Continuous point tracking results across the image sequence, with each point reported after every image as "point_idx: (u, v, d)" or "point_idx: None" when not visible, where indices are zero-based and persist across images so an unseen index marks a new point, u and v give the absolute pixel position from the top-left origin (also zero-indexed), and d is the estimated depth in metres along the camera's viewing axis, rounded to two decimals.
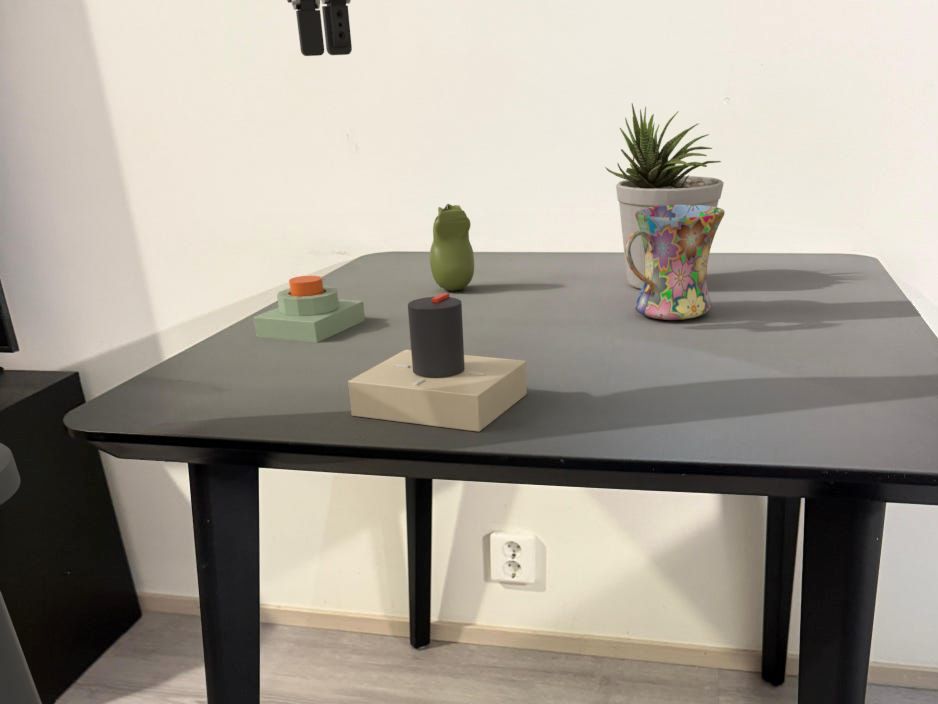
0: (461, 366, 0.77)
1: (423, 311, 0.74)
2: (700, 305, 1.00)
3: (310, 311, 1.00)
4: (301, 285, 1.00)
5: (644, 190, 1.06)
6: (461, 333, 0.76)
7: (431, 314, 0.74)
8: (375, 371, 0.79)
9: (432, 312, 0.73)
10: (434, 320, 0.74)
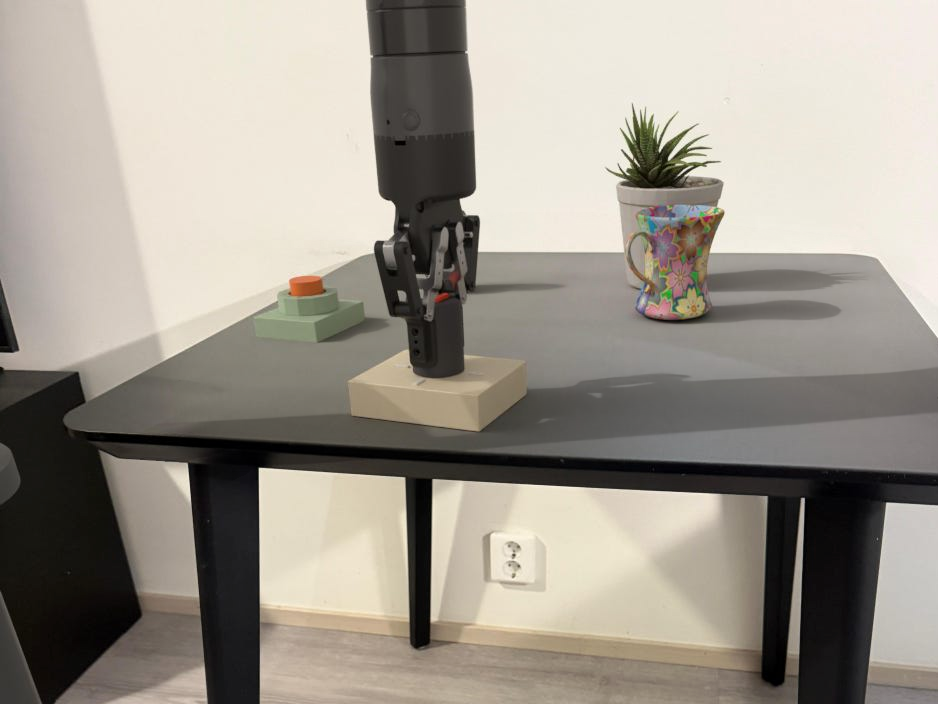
0: (461, 366, 0.77)
1: None
2: (700, 305, 1.00)
3: (310, 311, 1.00)
4: (301, 285, 1.00)
5: (644, 190, 1.06)
6: (461, 333, 0.76)
7: None
8: (375, 371, 0.79)
9: None
10: (435, 320, 0.74)
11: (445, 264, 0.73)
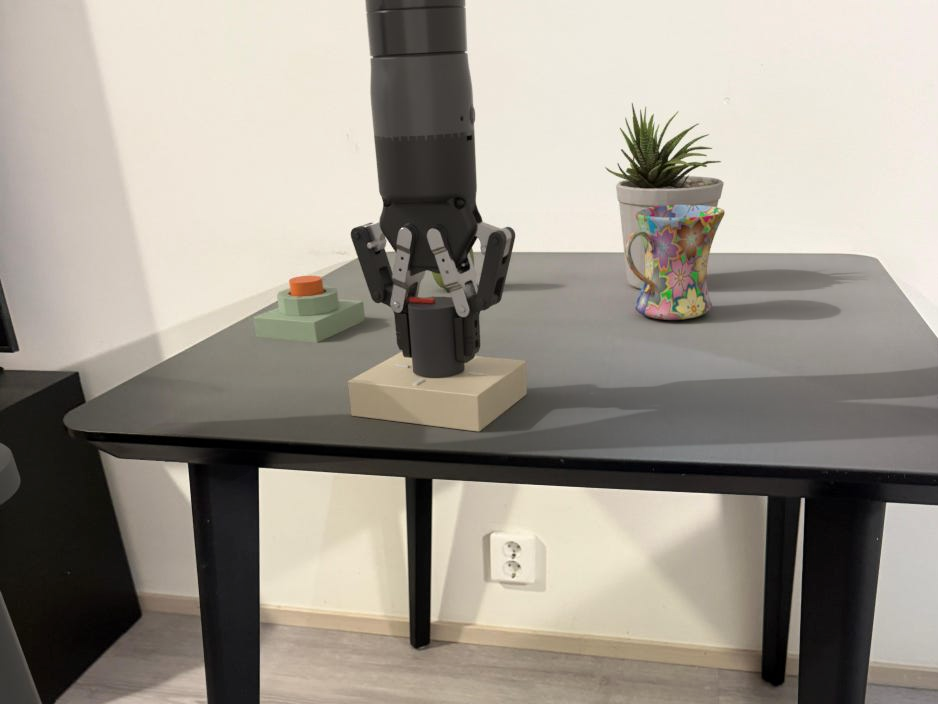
0: None
1: None
2: (700, 305, 1.00)
3: (310, 311, 1.00)
4: (301, 285, 1.00)
5: (644, 190, 1.06)
6: None
7: None
8: (375, 371, 0.79)
9: None
10: None
11: None
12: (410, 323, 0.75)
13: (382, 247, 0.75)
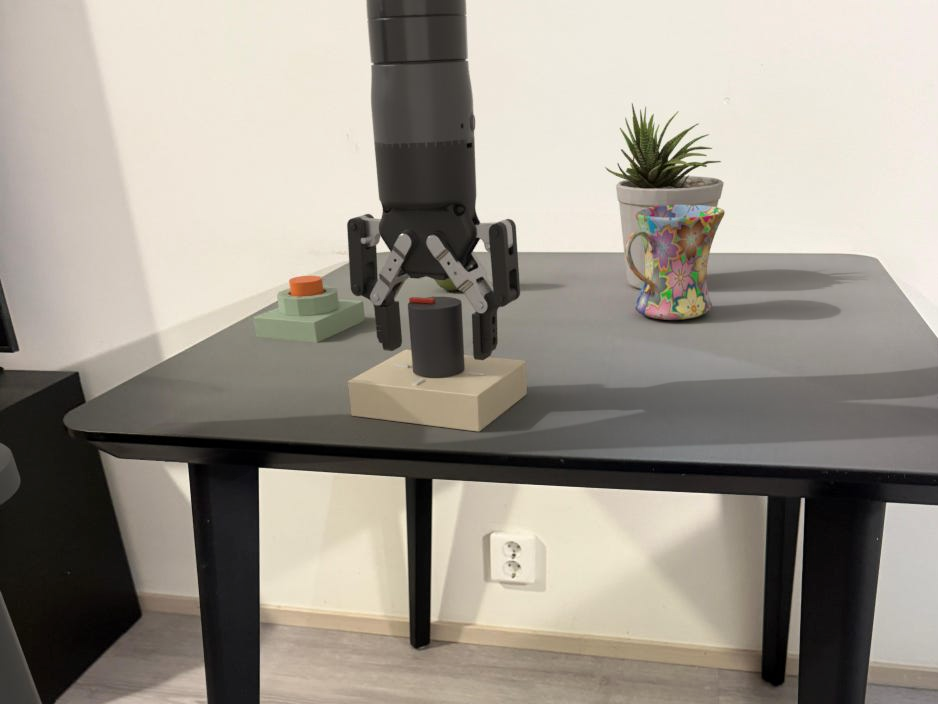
0: None
1: (459, 305, 0.75)
2: (700, 305, 1.00)
3: (310, 311, 1.00)
4: (301, 285, 1.00)
5: (644, 190, 1.06)
6: None
7: (461, 307, 0.75)
8: (375, 371, 0.79)
9: (461, 304, 0.75)
10: None
11: None
12: (410, 323, 0.75)
13: (374, 244, 0.75)
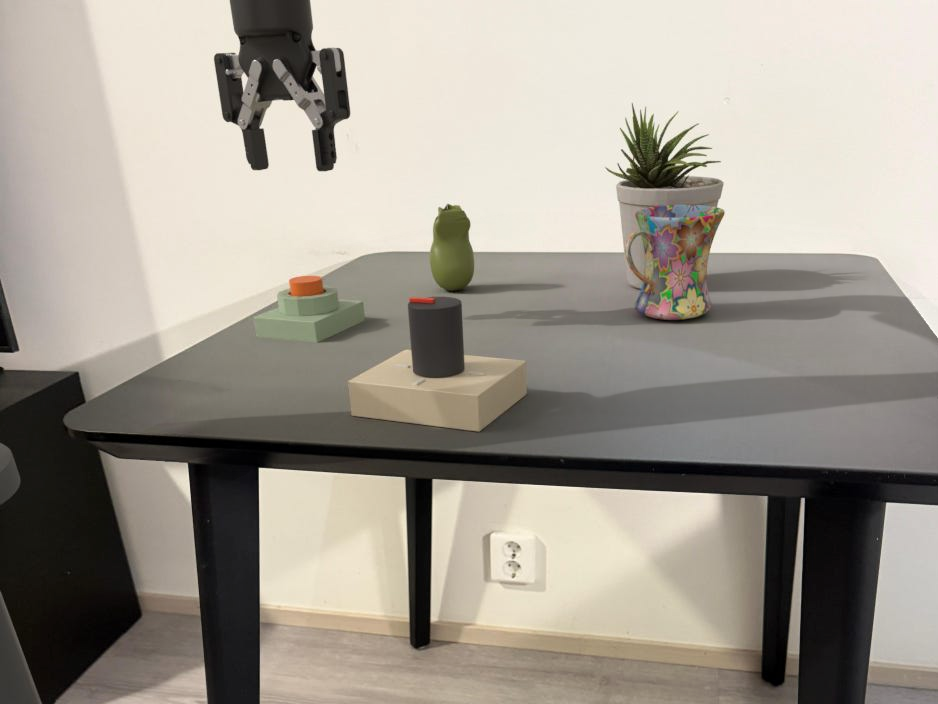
0: None
1: (459, 305, 0.75)
2: (700, 305, 1.00)
3: (310, 311, 1.00)
4: (301, 285, 1.00)
5: (644, 190, 1.06)
6: None
7: (461, 307, 0.75)
8: (375, 371, 0.79)
9: (461, 304, 0.75)
10: None
11: None
12: (410, 323, 0.75)
13: (238, 76, 0.92)
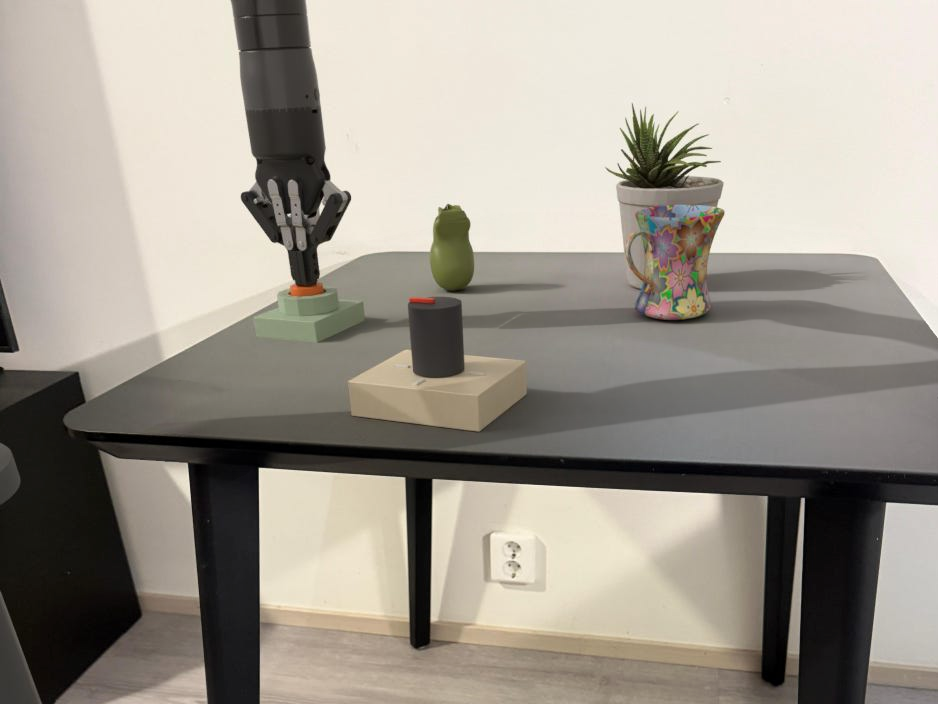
0: None
1: (459, 305, 0.75)
2: (700, 305, 1.00)
3: (310, 311, 1.00)
4: (301, 292, 1.00)
5: (644, 190, 1.06)
6: None
7: (461, 307, 0.75)
8: (375, 371, 0.79)
9: (461, 304, 0.75)
10: None
11: None
12: (410, 323, 0.75)
13: (266, 200, 0.98)
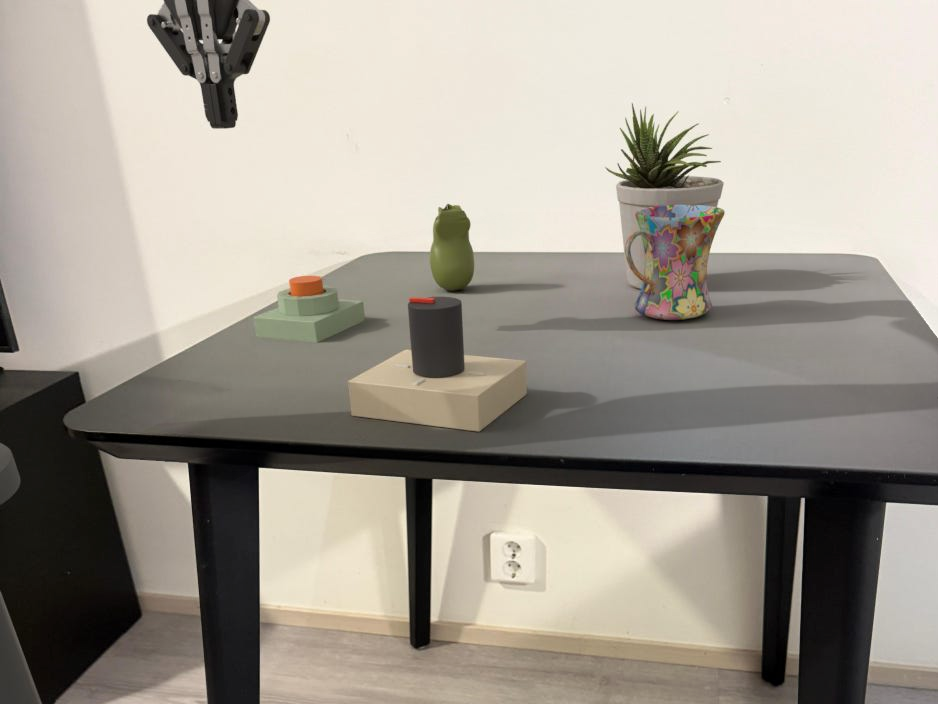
0: None
1: (459, 305, 0.75)
2: (700, 305, 1.00)
3: (310, 311, 1.00)
4: (301, 285, 1.00)
5: (644, 190, 1.06)
6: None
7: (461, 307, 0.75)
8: (375, 371, 0.79)
9: (461, 304, 0.75)
10: None
11: None
12: (410, 323, 0.75)
13: (176, 26, 0.87)
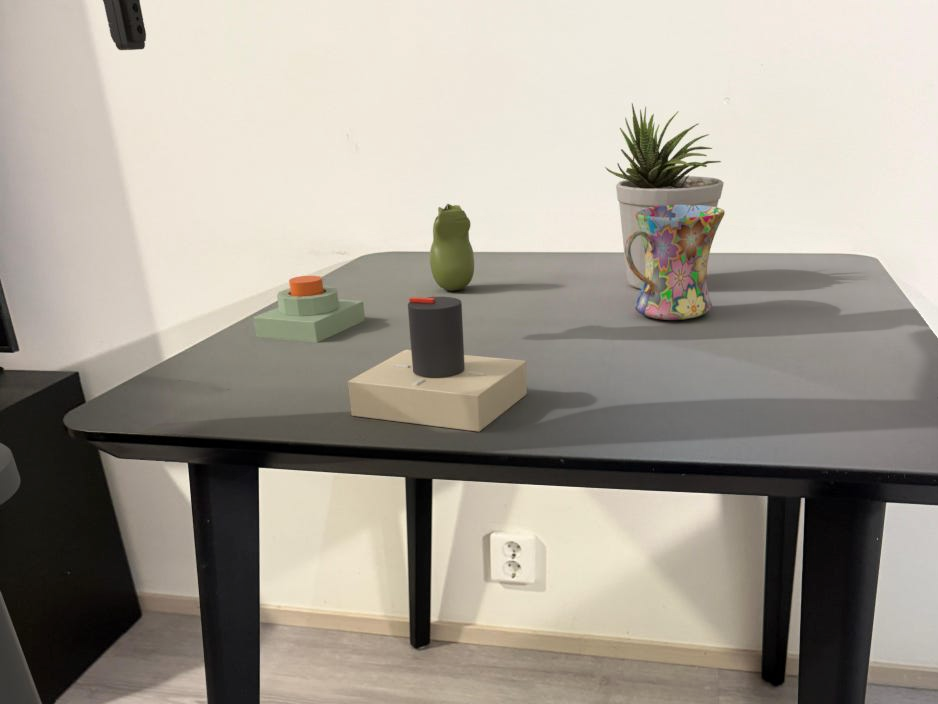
0: None
1: (459, 305, 0.75)
2: (700, 305, 1.00)
3: (310, 311, 1.00)
4: (301, 285, 1.00)
5: (644, 190, 1.06)
6: None
7: (461, 307, 0.75)
8: (375, 371, 0.79)
9: (461, 304, 0.75)
10: None
11: None
12: (410, 323, 0.75)
13: None
